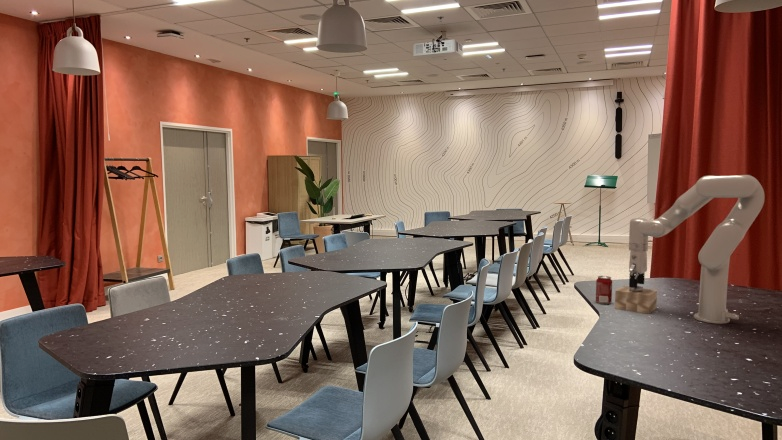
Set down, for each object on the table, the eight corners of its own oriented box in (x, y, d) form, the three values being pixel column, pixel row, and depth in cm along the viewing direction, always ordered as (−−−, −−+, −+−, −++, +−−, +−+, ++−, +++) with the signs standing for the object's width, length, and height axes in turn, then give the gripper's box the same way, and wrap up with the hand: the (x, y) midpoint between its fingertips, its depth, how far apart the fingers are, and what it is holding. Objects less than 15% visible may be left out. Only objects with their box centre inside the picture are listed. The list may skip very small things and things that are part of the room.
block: (656, 308, 238) (657, 290, 237) (648, 313, 229) (649, 295, 228) (623, 303, 247) (623, 285, 246) (614, 308, 238) (615, 290, 237)
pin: (644, 307, 238) (644, 286, 237) (640, 309, 234) (641, 289, 233) (630, 304, 241) (631, 285, 241) (626, 307, 237) (627, 287, 236)
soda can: (609, 305, 243) (610, 279, 242) (593, 303, 247) (594, 277, 246) (613, 302, 248) (614, 276, 247) (598, 300, 252) (599, 274, 251)
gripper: (641, 250, 226) (639, 290, 228) (653, 245, 239) (651, 283, 241) (622, 248, 231) (621, 287, 233) (635, 244, 244) (634, 281, 246)
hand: (636, 285), depth 237 cm, fingers open, 9 cm apart
